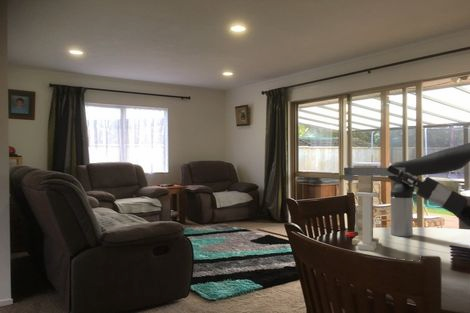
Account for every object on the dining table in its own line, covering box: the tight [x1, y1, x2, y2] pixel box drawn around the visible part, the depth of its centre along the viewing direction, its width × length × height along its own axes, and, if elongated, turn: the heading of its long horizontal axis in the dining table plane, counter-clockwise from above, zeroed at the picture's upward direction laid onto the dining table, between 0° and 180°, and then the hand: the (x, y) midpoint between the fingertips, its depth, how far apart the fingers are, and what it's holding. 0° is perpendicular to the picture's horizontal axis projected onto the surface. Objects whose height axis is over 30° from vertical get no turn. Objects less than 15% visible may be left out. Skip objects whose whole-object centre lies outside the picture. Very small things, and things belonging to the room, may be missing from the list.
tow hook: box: [344, 207, 358, 238], centre depth 168 cm, size 8×13×9 cm
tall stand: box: [351, 164, 380, 247], centre depth 152 cm, size 8×9×32 cm
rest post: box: [354, 191, 380, 252], centre depth 144 cm, size 6×8×22 cm
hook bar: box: [343, 167, 406, 181], centre depth 143 cm, size 3×22×5 cm, turn 60°
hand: (389, 167), depth 140 cm, fingers closed on hook bar, 3 cm apart
